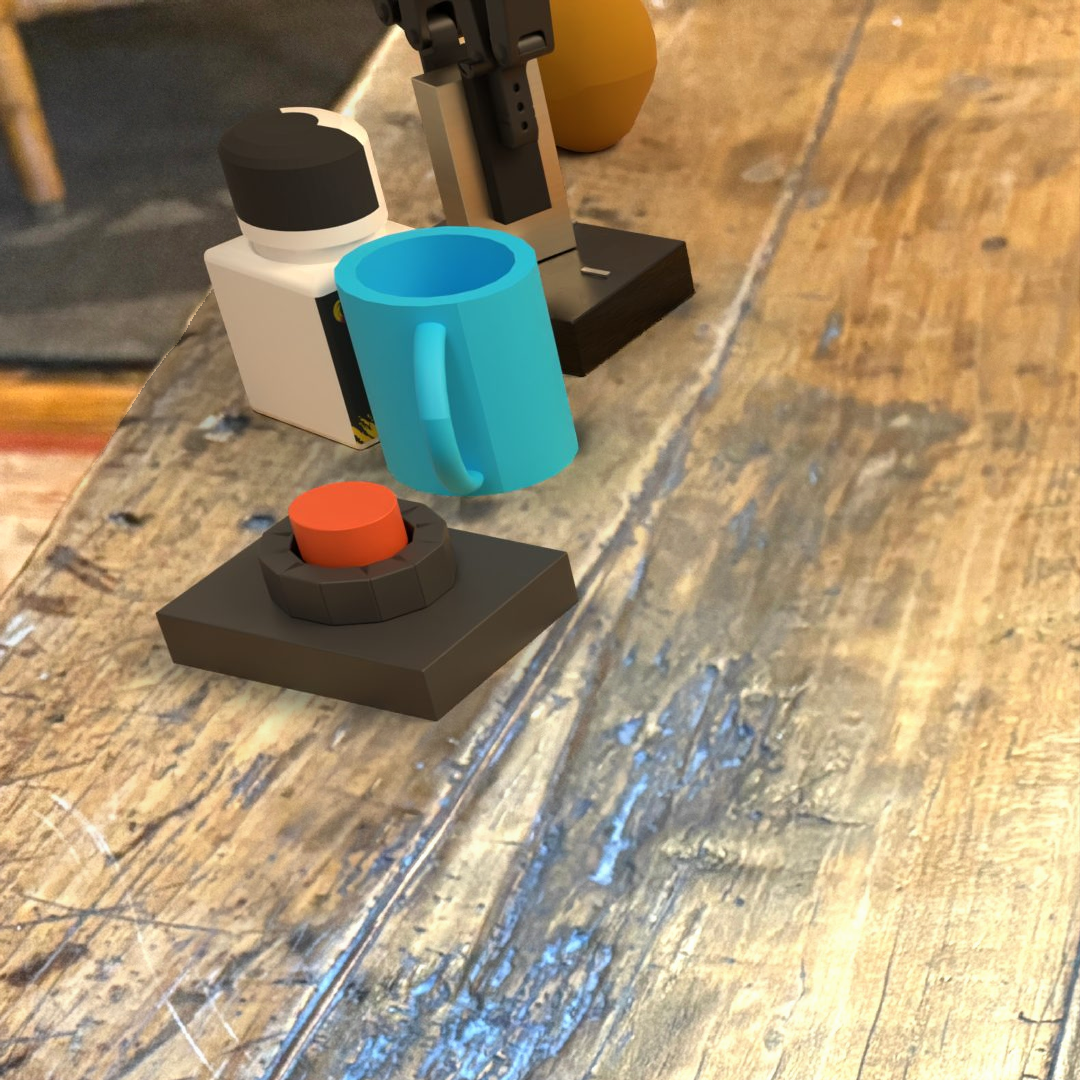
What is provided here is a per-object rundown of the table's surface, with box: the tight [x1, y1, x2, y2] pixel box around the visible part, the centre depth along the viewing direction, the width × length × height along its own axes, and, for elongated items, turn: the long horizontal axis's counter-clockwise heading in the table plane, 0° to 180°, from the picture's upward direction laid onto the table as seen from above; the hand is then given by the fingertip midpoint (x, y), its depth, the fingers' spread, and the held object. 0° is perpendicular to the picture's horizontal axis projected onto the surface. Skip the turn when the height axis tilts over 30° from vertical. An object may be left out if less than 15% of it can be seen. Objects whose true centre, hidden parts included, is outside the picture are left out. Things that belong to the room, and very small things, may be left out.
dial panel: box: [431, 218, 696, 377], centre depth 125 cm, size 12×10×3 cm
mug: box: [334, 226, 580, 498], centre depth 112 cm, size 12×8×8 cm
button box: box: [155, 497, 579, 722], centre depth 104 cm, size 12×10×4 cm
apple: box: [490, 0, 658, 153], centre depth 138 cm, size 8×8×9 cm
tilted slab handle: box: [410, 58, 577, 261], centre depth 121 cm, size 6×2×9 cm, turn 142°
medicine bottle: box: [203, 106, 415, 451], centre depth 115 cm, size 7×7×12 cm
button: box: [287, 480, 408, 568], centre depth 102 cm, size 4×4×2 cm
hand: (505, 206), depth 122 cm, fingers closed on tilted slab handle, 2 cm apart
